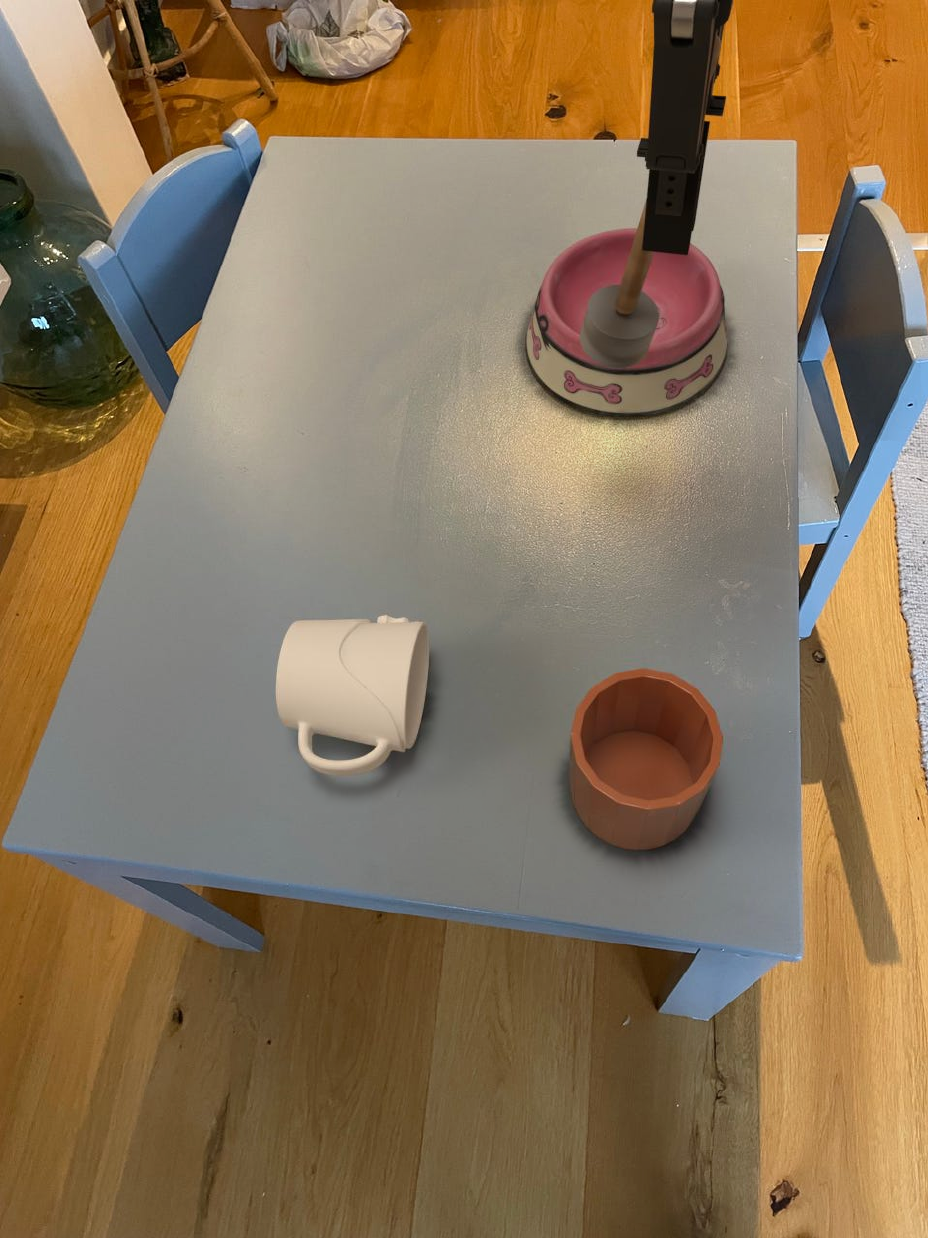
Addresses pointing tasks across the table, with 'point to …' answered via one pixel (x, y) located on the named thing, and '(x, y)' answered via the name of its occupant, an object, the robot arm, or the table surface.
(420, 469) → the table surface
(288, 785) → the table surface
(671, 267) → the dog bowl
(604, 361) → the toilet plunger
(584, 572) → the table surface
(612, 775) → the crock
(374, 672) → the mug
